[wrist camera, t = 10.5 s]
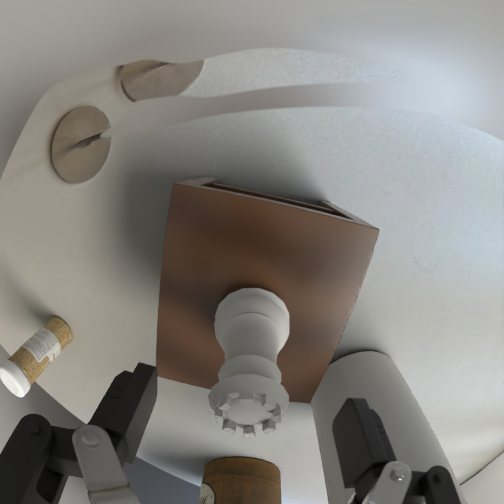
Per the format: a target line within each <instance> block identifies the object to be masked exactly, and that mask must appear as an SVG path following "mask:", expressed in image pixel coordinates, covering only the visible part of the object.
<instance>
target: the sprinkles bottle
mask: <svg viewBox="0 0 504 504" xmlns="http://www.w3.org/2000/svg"><path fill="white" fill-rule="evenodd" d="M71 340H72V334H71V330H70V329H69V327H68V326H67V324H66V323H65V322H64V321H63V320H61V319H60V318H57V317H53V318H51V319H50V321H49V322H48V323H47V324H46V325H45V326H44V327H43V328H41V329H39V330H38V331H37V332H36V333H35V334H34V335H33V336H32V337H31V338H29V339H28V340H27V341H26V342H25V343H24V344H23V345H22V346H21V347H20V348H19V349H18V350H17V351H16V352H15V353H14V354H13V355H12V356H11V357H10V358H9V359H7V360H5V361H4V362H3V363H2V364H1V365H0V378H1V380H2V382H3V383H4V384H5V386H6V387H7V388H8V389H9V390H10V391H11V392H12V393H13V394H15V395H16V396H18V397H23V396H24V395H25V394H26V393H27V392H28V390H29V389H30V387H31V384H32V383H33V382H34V381H35V380H36V379H37V378H38V376H39V375H40V374H41V373H42V372H43V371H44V370H45V369H46V368H47V367H48V366H49V365H50V363H51V362H52V361H53V360H54V359H55V358H56V357H57V356H58V355H59V353H60V352H61V351H62V350H63V348H64V347H65V346H66V345H67V344H69V343H70V342H71Z"/></svg>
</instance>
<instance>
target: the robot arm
mask: <svg viewBox="0 0 504 504" xmlns="http://www.w3.org/2000/svg"><path fill="white" fill-rule="evenodd" d="M156 397H157V367H154V366H151V365H147V364H144V363H140V362H139V363H138V364H137V366H136V368H135V370H134V372H133V373H131V372H128V371H123V372H122V373H120V374H119V375H117V376H116V377H115V378H114V380H113V382H112V383H111V385H110V388H108V390H107V392H106V395H104V397H103V399H102V401H101V402H100V404H99V406H98V408H97V409H96V411H95V413H94V415H93V416H92V418H91V420H90V421H89V423H88V424H87V425H83V426H81V427H79V428H77V429H66V428H61V427H55V426H51V425H50V423H49V422H48V421H47V419H45V418H44V417H43V416H41V415H38V414H29V415H26V416H24V417H23V418H22V419H21V420H20V422H19V423H18V425H17V426H16V428H15V430H14V431H13V433H12V435H11V436H10V438H9V440H8V442H7V443H6V445H5V447H4V449H3V451H2V452H1V454H0V504H58V503H59V500H60V498H61V495H62V492H63V489H64V487H65V484H66V481H67V479H68V476H69V475H70V476H75V477H81V478H84V481H85V484H86V486H87V489H88V497H89V500H90V503H91V504H140V502H139V500H138V498H137V496H136V494H135V493H134V491H133V489H132V487H131V485H130V484H129V482H128V479H127V477H126V475H125V473H124V471H123V469H122V468H123V465H124V463H125V462H128V463H131V464H133V461H134V458H135V456H136V453H137V450H138V447H139V445H140V442H141V439H142V437H143V434H144V431H145V428H146V426H147V423H148V421H149V418H150V415H151V413H152V410H153V407H154V405H155V402H156ZM383 426H384V425H383V423H382V420H381V418H380V416H379V415H378V414H377V413H376V412H375V410H374V409H370V408H369V405H368V403H367V401H366V399H365V398H347V399H346V400H345V402H344V404H343V405H342V407H341V409H340V410H339V412H338V413H337V415H336V416H335V418H334V420H333V423H332V432H333V437H334V441H335V446H336V450H337V455H338V459H339V464H340V468H341V473H342V478H343V483H344V488H345V489H349V488H354V489H355V493H354V494H353V495H352V496H351V498H350V499H349V501H348V503H347V504H425V503H426V504H461V502H460V499H459V496H458V493H457V490H456V487H455V485H454V482H453V479H452V477H451V474H450V472H449V471H448V470H447V469H446V468H445V467H443V466H440V465H436V466H433V467H431V468H430V469H429V470H428V471H427V472H421V471H411V470H410V468H409V467H408V466H407V465H406V464H405V463H403V462H400V461H397V459H396V456H395V454H394V451H393V448H392V446H391V443H390V441H389V438H388V435H386V430H385V428H384V427H383Z"/></svg>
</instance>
